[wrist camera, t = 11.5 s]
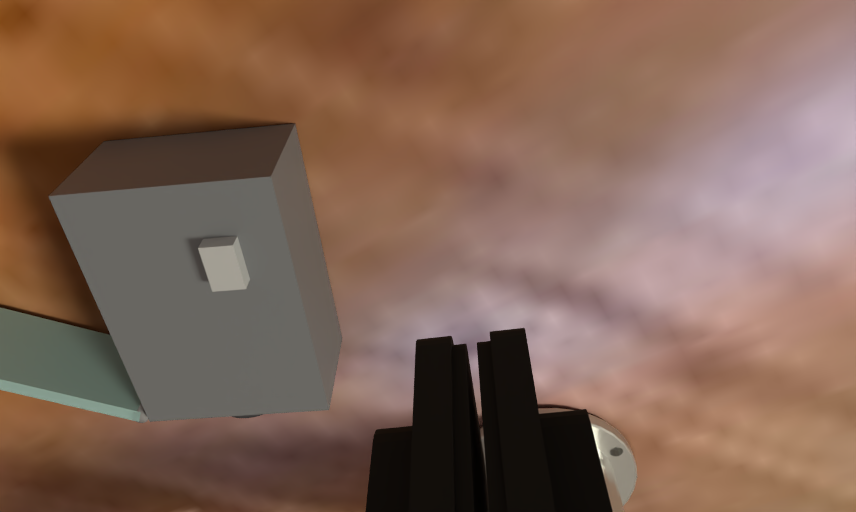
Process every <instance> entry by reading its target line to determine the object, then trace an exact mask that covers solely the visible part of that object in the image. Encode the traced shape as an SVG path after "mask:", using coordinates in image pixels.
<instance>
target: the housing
mask: <svg viewBox="0 0 856 512" xmlns="http://www.w3.org/2000/svg"><path fill="white" fill-rule="evenodd" d="M49 199H50V201H51V203H52V205H53V208H54V210H55V212H56V214H57V217H58V219H59V221H60V223H61V225H62V228H63V230H64V232H65V234H66V237H67V239H68V241H69V243H70V245H71V248H72V250H73V252H74V254H75V257H76V259H77V261H78V263H79V266H80V268H81V270H82V272H83V274H84V277H85V279H86V281H87V283H88V286H89V288H90V290H91V292H92V294H93V297H94V299H95V301H96V303H97V306H98V308H99V310H100V312H101V315H102V317H103V319H104V321H105V323H106V326H107V328H108V330H109V332H110V335H111V337H112V339H113V341H114V343H115V346H116V348H117V350H118V352H119V355H120V357H121V359H122V361H123V364H124V366H125V368H126V370H127V372H128V375H129V377H130V379H131V381H132V384H133V386H134V388H135V390H136V392H137V395H138V397H139V399H140V401H141V404H142V406H143V408H144V410H145V413H146V415H147V417H148V419H149V421H150V422H151V421H166V420H182V419H197V418H212V417H228V416H232V417H236V418H251V417H256V416H260V415H263V414H273V413H289V412H304V411H319V410H329V408H330V402H331V397H332V391H333V386H334V380H335V375H336V369H337V364H338V358H339V353H340V347H341V342H342V336H341V331H340V326H339V322H338V317H337V313H336V308H335V304H334V299H333V294H332V290H331V285H330V281H329V276H328V272H327V267H326V262H325V258H324V253H323V249H322V244H321V239H320V235H319V230H318V226H317V221H316V217H315V212H314V207H313V203H312V198H311V194H310V189H309V185H308V180H307V175H306V171H305V166H304V162H303V157H302V153H301V148H300V143H299V139H298V134H297V130H296V125H295V124H284V125H274V126H263V127H252V128H242V129H231V130H220V131H209V132H199V133H188V134H177V135H167V136H156V137H145V138H135V139H124V140H113V141H104V142H103V143H102V144H101V145H100V146H99V147H98V148H97V149H96V150H95V151H94V152H93V153H92V154H90V155H89V156H88V157H87V158H86V159H85V160H84V161H83V162H82V163H81V164H80V165H79V166H78V167H77V168H76V169H75V170H74V171H73V172H72V173H71V174H70V175H69V176H68V177H67V178H66V179H65V180H64V181H63V182H62V183H61V184H60V185H59V186H58V187H57V188H56V189H55V190H54V191H53V192H52V193H51V194H50V195H49Z"/></svg>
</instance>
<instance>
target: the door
mask: <svg viewBox="0 0 856 512" xmlns="http://www.w3.org/2000/svg"><path fill="white" fill-rule="evenodd" d="M0 390H4V391H8V392H13V393H17V394H21V395H26V396H30V397H34V398H38V399H43V400H47V401H51V402H56V403H60V404H64V405H69V406H73V407H77V408H81V409H86V410H90V411H94V412H99V413H103V414H107V415H112V416H116V417H120V418H125V419H129V420H133V421H136V422H139V423H144V422H146V421H147V420H148V417H147V415H146V413H145V410H144V408H143V406H142V404H141V401H140V399H139V397H138V395H137V392H136V390H135V388H134V386H133V384H132V381H131V379H130V377H129V375H128V372H127V370H126V368H125V366H124V364H123V361H122V359H121V357H120V355H119V352H118V350H117V348H116V346H115V343H114V341H113V339H112V337H111V335H108V334H104V333H100V332H96V331H92V330H88V329H84V328H80V327H76V326H72V325H68V324H64V323H60V322H56V321H52V320H48V319H44V318H40V317H36V316H32V315H28V314H24V313H20V312H16V311H12V310H8V309H4V308H0Z"/></svg>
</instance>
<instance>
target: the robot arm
mask: <svg viewBox="0 0 856 512" xmlns="http://www.w3.org/2000/svg"><path fill="white" fill-rule="evenodd" d="M490 340H491V341H487V342H478V343H477V351H478V365H479V378H480V392H481V406H482V420H483V427H482V428H479V421H478V415H477V408H476V402H475V396H474V389H473V383H472V376H471V370H470V364H469V357H468V351H467V345H466V344H459V345H454V344H453V339H452V336H446V337H437V338H428V339H419V340H417V341H416V354H415V378H414V402H413V425H412V426H408V427H398V428H388V429H378V430H376V432H375V434H374V439H373V446H372V455H371V465H370V475H369V484H368V494H367V504H366V512H624V508H623V506H624V504H625V503H626V502H627V501H628V500H629V498H630V496H631V494H632V492H633V490H634V488H635V484H636V480H637V466H636V462H635V459H634V455H633V452H632V449H631V447H630V446H629V444H628V442H627V440H626V439H625V438H624V436H623V435H622V434H621V433H620V432H619V431H618V430H617V429H616V428H614V427H613V426H612V425H610V424H609V423H607V422H606V421H604V420H602V419H600V418H597V417H595V416H593V415H591V414H588V412H587V410H586V409H583V410H570V409H561V408H538V404H537V398H536V392H535V386H534V380H533V374H532V368H531V362H530V356H529V350H528V344H527V338H526V333H525V328H520V329H511V330H501V331H492V332H490Z"/></svg>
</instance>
